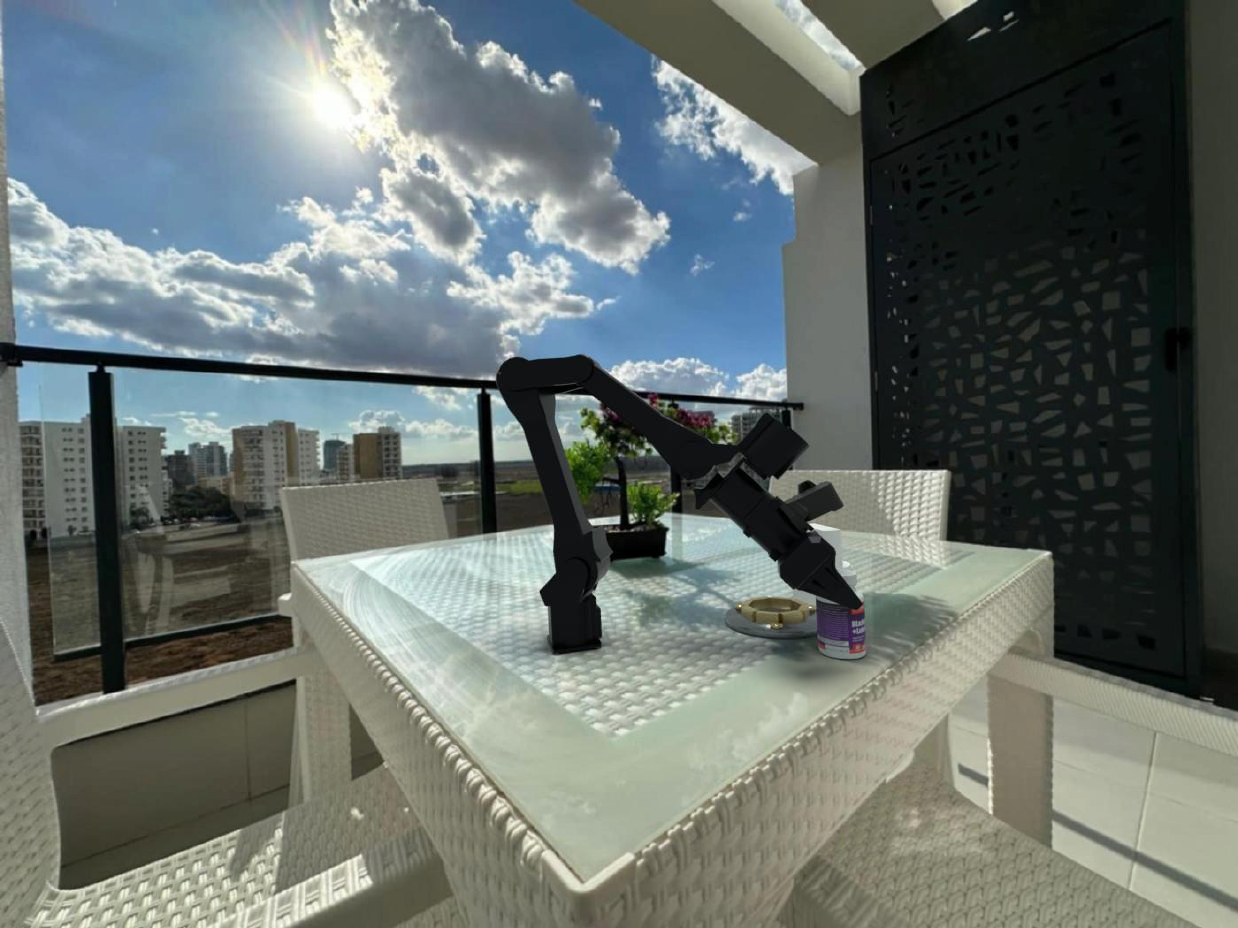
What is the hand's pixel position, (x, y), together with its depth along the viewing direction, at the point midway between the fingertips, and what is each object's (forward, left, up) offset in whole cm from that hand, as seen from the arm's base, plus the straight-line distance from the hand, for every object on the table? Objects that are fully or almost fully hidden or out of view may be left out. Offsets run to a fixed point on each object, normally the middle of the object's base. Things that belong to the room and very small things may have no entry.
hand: (851, 596), depth 62 cm
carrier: (-2, +14, -7) cm, 15 cm away
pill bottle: (-1, +1, -7) cm, 7 cm away
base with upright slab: (+11, +21, -7) cm, 24 cm away
